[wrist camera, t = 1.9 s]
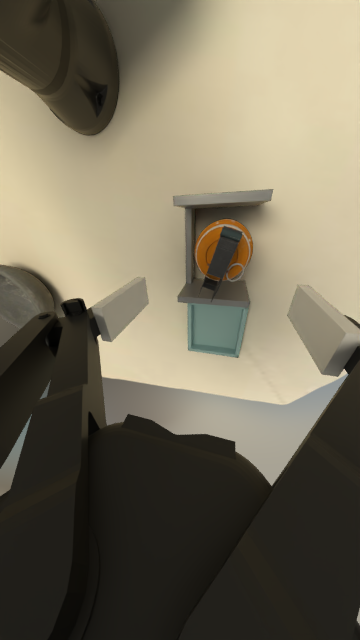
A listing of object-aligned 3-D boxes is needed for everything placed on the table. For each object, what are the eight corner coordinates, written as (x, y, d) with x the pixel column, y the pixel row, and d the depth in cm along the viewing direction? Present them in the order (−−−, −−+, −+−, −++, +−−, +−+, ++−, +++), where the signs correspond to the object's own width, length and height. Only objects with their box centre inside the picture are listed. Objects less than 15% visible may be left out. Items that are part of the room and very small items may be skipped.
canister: (254, 226, 34) (276, 235, 18) (230, 276, 40) (231, 317, 24) (212, 212, 35) (197, 209, 18) (196, 264, 41) (173, 296, 24)
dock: (189, 201, 35) (173, 196, 25) (259, 197, 32) (273, 189, 22) (189, 282, 44) (177, 302, 34) (244, 285, 41) (248, 307, 31)
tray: (189, 296, 46) (187, 300, 43) (247, 300, 42) (248, 305, 40) (189, 344, 55) (188, 350, 52) (237, 350, 51) (238, 357, 49)
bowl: (21, 308, 67) (-9, 321, 59) (-3, 250, 54) (-44, 256, 46) (71, 326, 65) (48, 342, 57) (59, 269, 52) (27, 280, 44)
